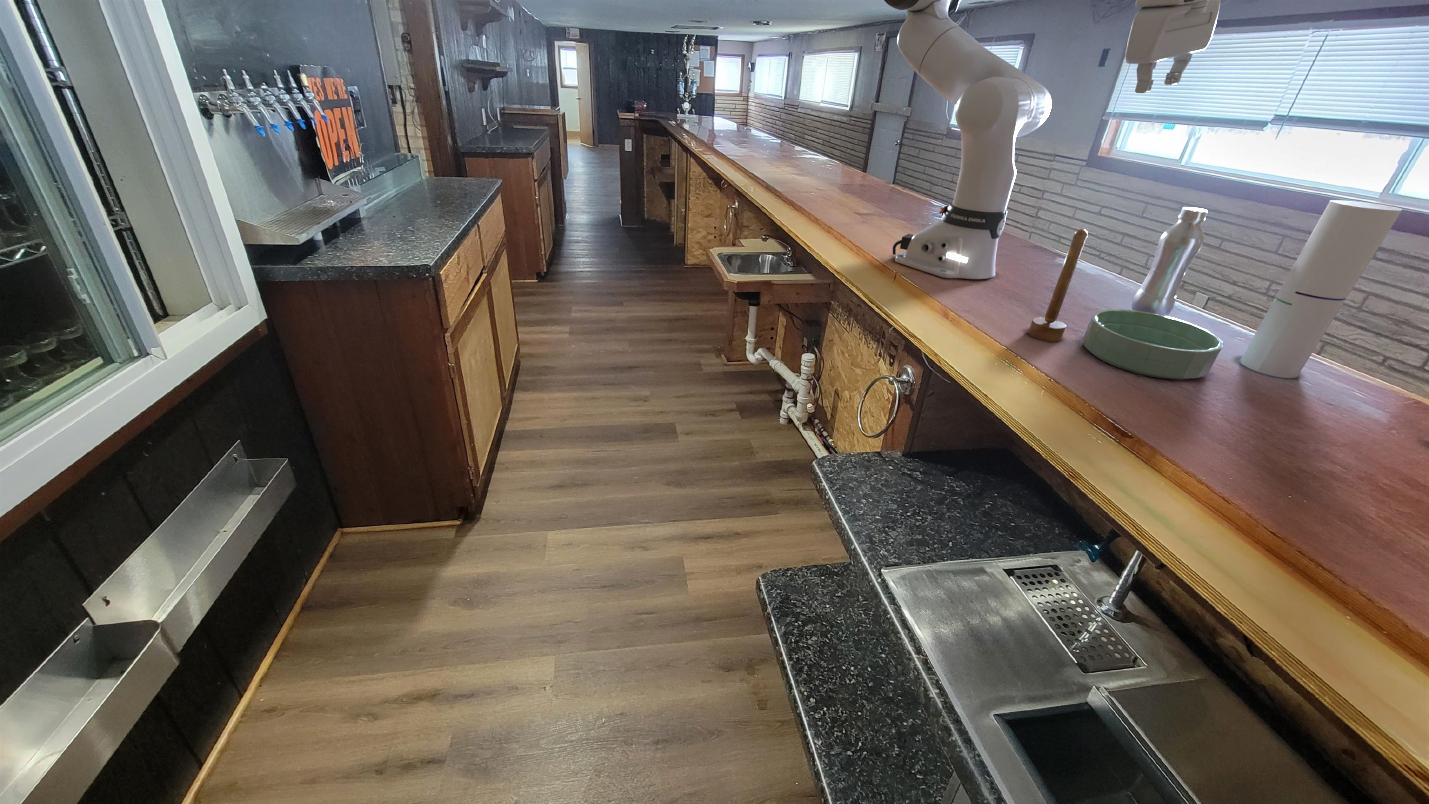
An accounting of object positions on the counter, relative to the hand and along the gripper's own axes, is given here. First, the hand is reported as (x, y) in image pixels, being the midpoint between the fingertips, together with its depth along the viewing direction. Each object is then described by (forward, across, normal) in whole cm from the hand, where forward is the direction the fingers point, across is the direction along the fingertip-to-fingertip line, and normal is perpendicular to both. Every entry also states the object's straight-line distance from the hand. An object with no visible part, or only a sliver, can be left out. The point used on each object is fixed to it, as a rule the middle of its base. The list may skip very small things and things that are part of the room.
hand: (1156, 88), depth 96 cm
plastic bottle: (+38, +2, +11) cm, 40 cm away
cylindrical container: (+38, +10, +32) cm, 50 cm away
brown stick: (+34, +30, +7) cm, 46 cm away
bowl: (+35, +24, +20) cm, 47 cm away
